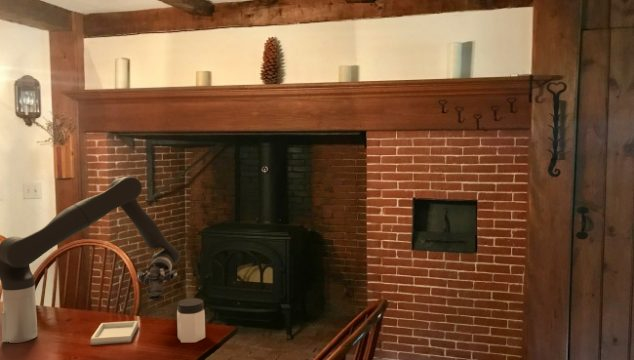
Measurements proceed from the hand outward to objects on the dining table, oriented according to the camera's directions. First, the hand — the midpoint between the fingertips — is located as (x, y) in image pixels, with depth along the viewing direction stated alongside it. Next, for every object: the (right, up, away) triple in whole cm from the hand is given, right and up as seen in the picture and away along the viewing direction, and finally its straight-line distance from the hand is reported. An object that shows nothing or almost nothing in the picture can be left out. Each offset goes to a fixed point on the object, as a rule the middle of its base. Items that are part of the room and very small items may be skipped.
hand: (153, 281), depth 173 cm
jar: (+13, -18, -3) cm, 22 cm away
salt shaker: (0, -6, +3) cm, 7 cm away
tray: (-13, -18, 0) cm, 22 cm away
